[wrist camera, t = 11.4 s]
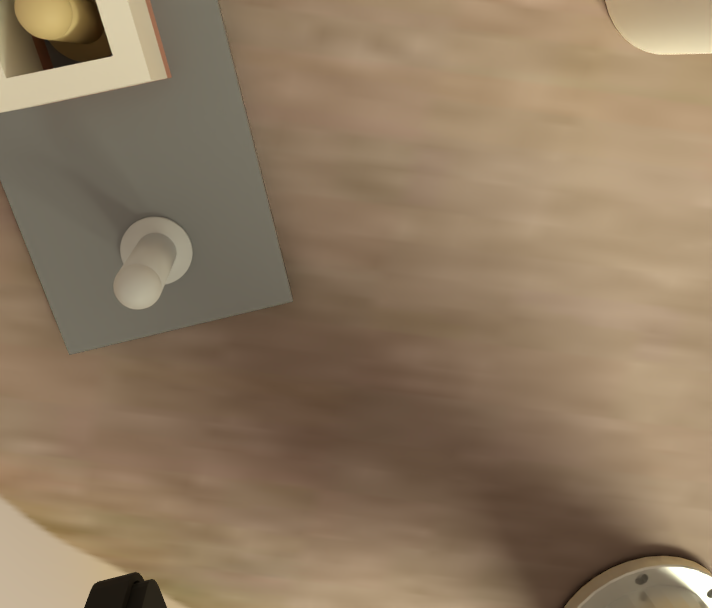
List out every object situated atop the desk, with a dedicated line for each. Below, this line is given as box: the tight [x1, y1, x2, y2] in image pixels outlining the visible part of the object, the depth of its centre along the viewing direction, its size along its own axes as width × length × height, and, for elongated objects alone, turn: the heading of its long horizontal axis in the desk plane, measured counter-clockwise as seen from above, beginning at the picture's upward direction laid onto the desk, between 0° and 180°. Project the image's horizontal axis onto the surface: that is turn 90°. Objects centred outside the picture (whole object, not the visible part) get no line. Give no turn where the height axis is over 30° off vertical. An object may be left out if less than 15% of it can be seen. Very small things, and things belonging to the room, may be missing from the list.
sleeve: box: [0, 0, 172, 113], centre depth 25 cm, size 6×6×6 cm
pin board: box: [0, 0, 293, 355], centre depth 27 cm, size 18×11×8 cm, turn 11°
